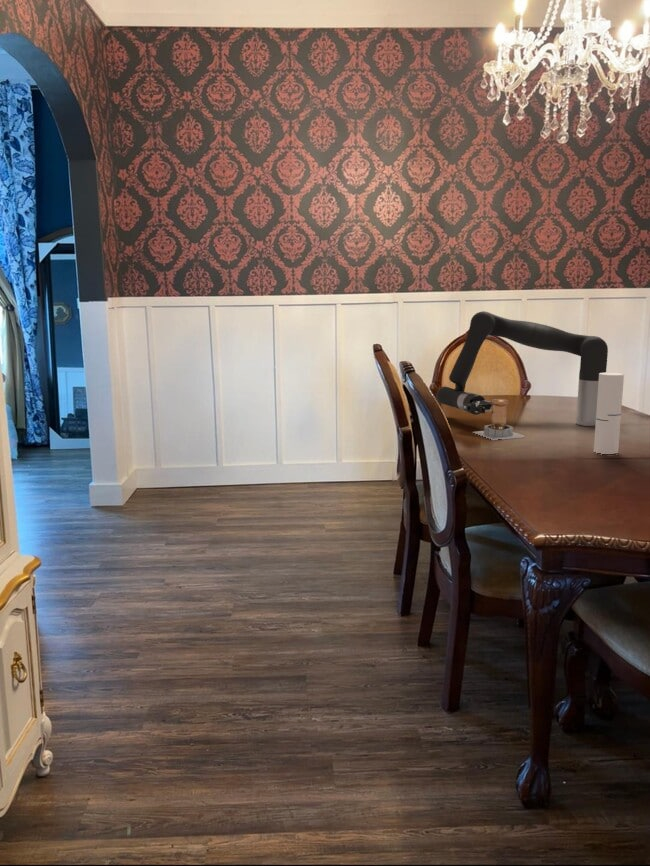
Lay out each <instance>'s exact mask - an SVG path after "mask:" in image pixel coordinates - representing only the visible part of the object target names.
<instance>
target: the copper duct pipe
mask: <svg viewBox="0 0 650 866" xmlns="http://www.w3.org/2000/svg"><path fill="white" fill-rule="evenodd" d="M490 402H491V404H492V406H491V409H492V411H491V424H490V425H491V428H492V429H506V425H507V408H508V405H509V400H508V399H506V398H505V399H504V398H494V399H491V401H490Z"/></svg>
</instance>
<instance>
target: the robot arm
mask: <svg viewBox="0 0 650 866" xmlns="http://www.w3.org/2000/svg"><path fill="white" fill-rule="evenodd" d="M488 336H492V337H493V336H494V337H499V338H504V339H507V340H510V341H513V342H514V343H517V344H520V345H521V346H522V345H523V346H526V347H530V348H534V349H538V350H543V351H555V352H563V353H569V354H572V355H576V356H577V357H580V362H579V363H580V365H579V372H578V373H579V374H578V387H577V388H578V389H577V403H576V419H575V421H576V422H575V424H577V426H585V427H595V426H596V411H597V397H598V383H599V373H607V366H608V353H609V347H608V344H607V342H606V341H605V340H604V339H603V338H601V337H599V336H595V335H585V334H584V335H583V334H578V333H572V332H568V331H565V330H562V329H560V328H557V327H553V326H550V325H546V324H541V323H537V322H532V321H527V320H526V321H525V320H519V319H518V320H517V319H515V320H514V319H509V318H505V317H503V316H499V315H496V314H495V313H494V314H493V313H491V312H488V311H484V310H483V311H479V312H477V313H475V314H474V315H472V317H471V320H470V323H469V328H468V333H467V336H466V338H465V341H464V344H463V346H462V348H461V351H460V353H459V355H458V357H457V359H456V361H455V362H454V365H453V367H452V369H451V372H450V373H449V377H448V379H449V381H450V382H452V383H453V384H454V386H455V387H454V388H452V387H449V386H442V387H440V388H439V389H438V390H437V392H436V399H437V402H438V403H439V404H441V405H445V406H448V407H452V408H456V409H457V410H461V411H463V412H465V413H469V414H472V415H474V416H475V415H476V416H477V415H481V414H486V412H492V404H491V401H489V400H486V398H485V397H484V396H482V395H481V394H478V393H474V392H466V391H465V390H466V384H467V381H468V379H469V378H470V375H471V372H472V370H473V367H474V364H475V363H476V359H477V357H478V354H479V352H480V349H481V347H482V345H483V343H484V342H485V340H486V339H487V337H488Z"/></svg>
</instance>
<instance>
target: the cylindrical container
mask: <svg viewBox="0 0 650 866" xmlns="http://www.w3.org/2000/svg"><path fill="white" fill-rule="evenodd" d="M624 378H625V374H624V373H621V372H606V373H599V383H598V397H597V411H596V426H594V427H595V429H594V442H593V453H594V452H596V453H595V454H597V453H601V454H600V455H602V454H614V453H618V454H619V444H620V443H619V442H620V433H621V432H620V431H621V420H622V419H621V416H622V404H623V394H624V393H623V391H624V382H625V380H624Z"/></svg>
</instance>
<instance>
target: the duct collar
mask: <svg viewBox="0 0 650 866" xmlns="http://www.w3.org/2000/svg"><path fill="white" fill-rule="evenodd" d="M483 426H484V427H483V430H478V431H477V430H476V431H472V434H473V433H475V434H474V435H476V434H478V435H477V436H479V435H480V436H479V437H482V436H483V437H482V438H484V437H486V438H485V439H487V438H489V439H488V440H490V439H491V441H499V440H498V439H502V440H510V439H521V438H526V437H525V435H524V434H520V433H517V432H514V427H513V426H511V425H508V424H506V429H492V428H491V424H486V425H483Z"/></svg>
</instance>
